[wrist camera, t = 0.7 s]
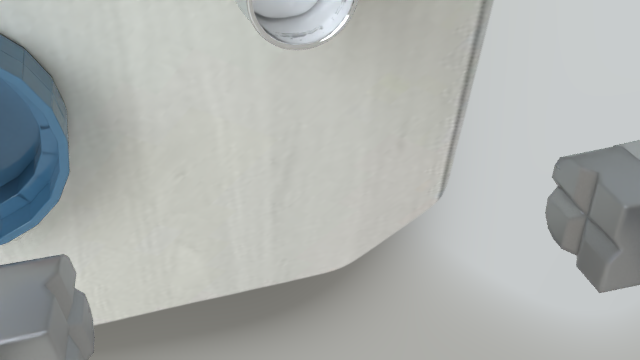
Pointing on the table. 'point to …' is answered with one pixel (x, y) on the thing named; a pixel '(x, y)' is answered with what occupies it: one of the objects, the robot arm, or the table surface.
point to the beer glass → (298, 20)
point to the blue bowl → (29, 142)
